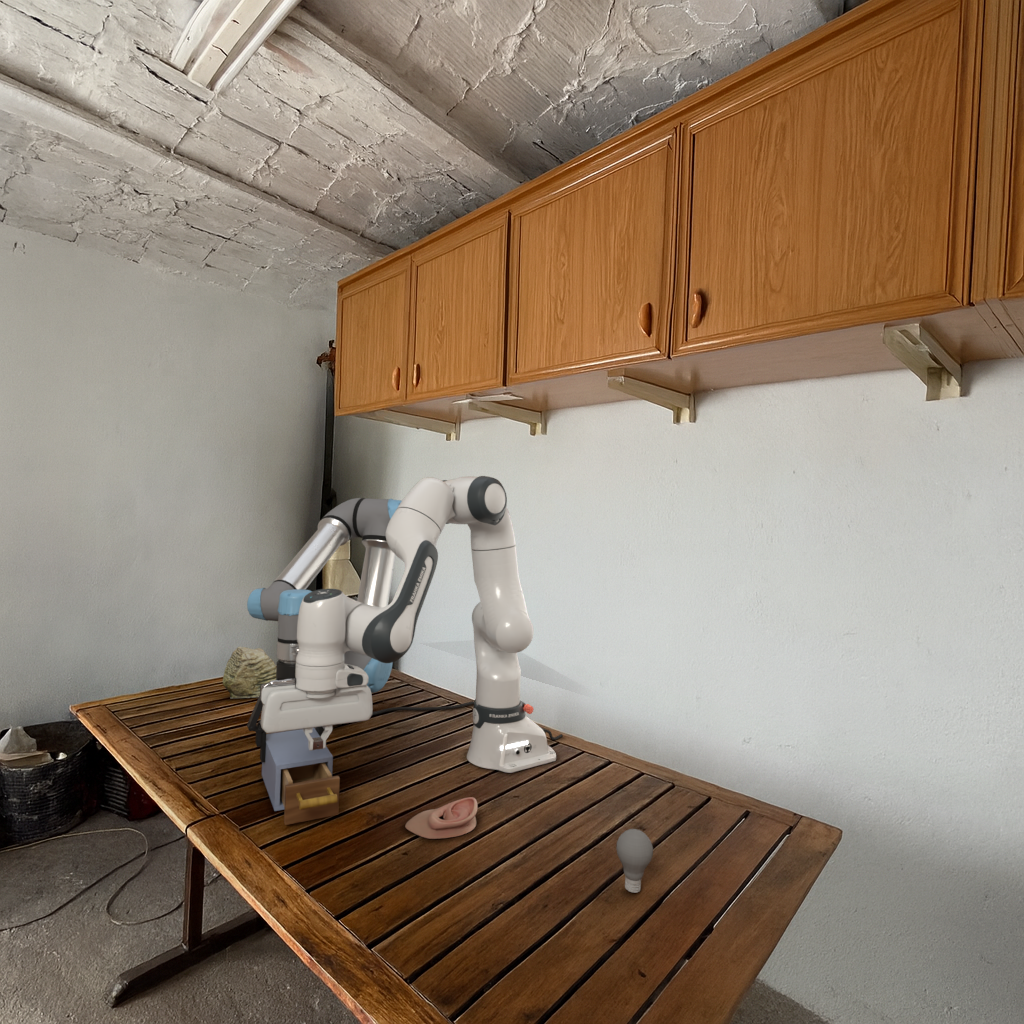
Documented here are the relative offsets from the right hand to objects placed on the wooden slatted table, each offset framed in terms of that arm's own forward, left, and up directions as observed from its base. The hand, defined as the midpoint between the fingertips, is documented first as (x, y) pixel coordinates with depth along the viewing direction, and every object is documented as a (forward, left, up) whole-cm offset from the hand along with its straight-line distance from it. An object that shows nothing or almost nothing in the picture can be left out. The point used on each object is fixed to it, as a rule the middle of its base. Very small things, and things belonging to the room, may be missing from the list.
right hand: (316, 748), depth 120 cm
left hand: (+2, -25, -11) cm, 28 cm away
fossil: (+6, -89, -16) cm, 90 cm away
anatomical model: (-23, +7, -16) cm, 29 cm away
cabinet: (+1, -20, -16) cm, 25 cm away
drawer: (0, -8, -15) cm, 17 cm away
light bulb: (-46, +38, -16) cm, 62 cm away
